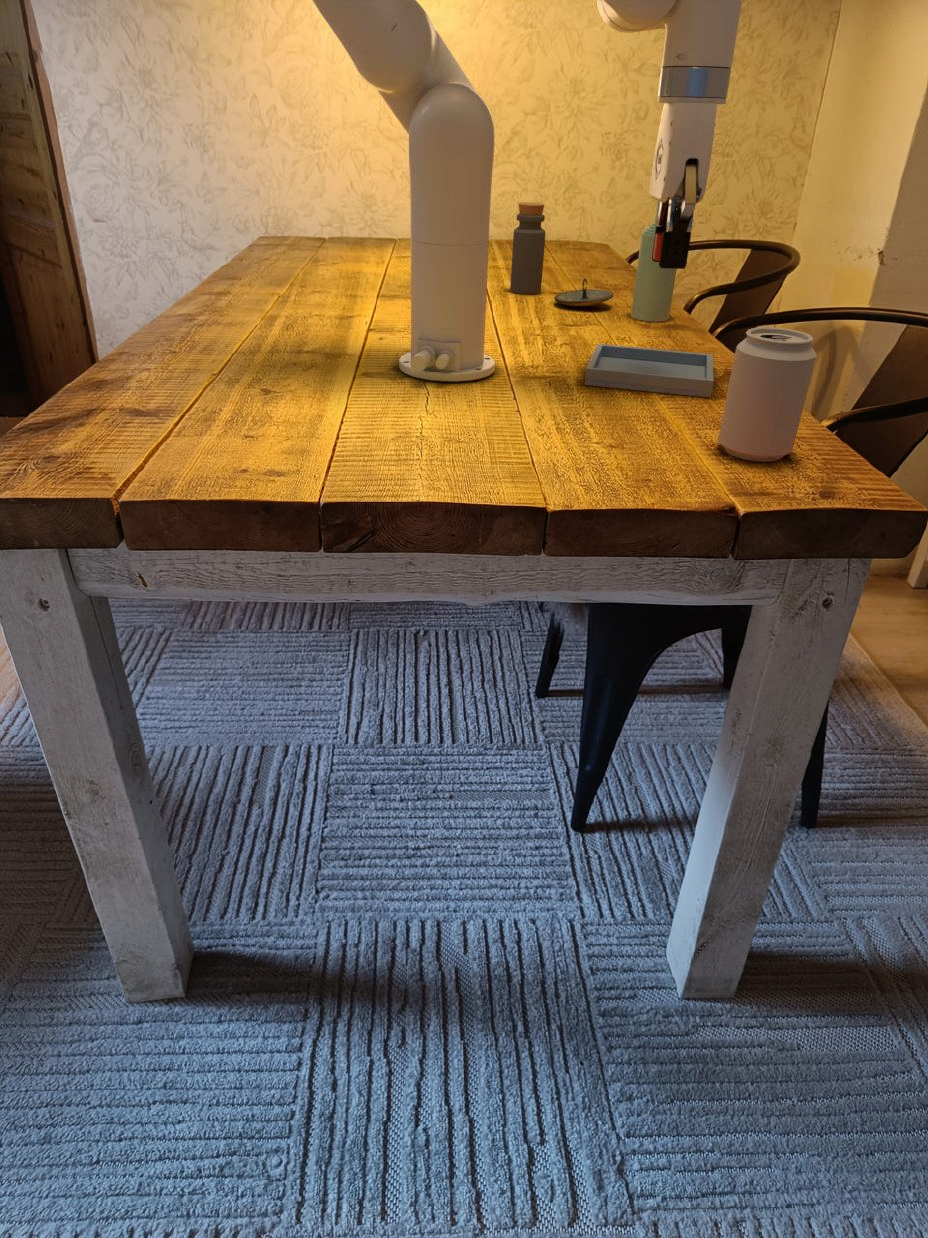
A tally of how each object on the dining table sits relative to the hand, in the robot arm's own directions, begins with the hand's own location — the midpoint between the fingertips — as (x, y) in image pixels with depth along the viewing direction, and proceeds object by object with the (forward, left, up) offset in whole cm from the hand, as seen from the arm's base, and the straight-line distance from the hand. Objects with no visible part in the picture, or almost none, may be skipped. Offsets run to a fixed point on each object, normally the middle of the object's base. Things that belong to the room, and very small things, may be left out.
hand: (668, 263), depth 102 cm
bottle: (+52, +26, -14) cm, 60 cm away
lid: (+43, +14, -14) cm, 47 cm away
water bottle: (+38, +2, -14) cm, 41 cm away
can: (-25, -12, -14) cm, 31 cm away
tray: (0, 0, -14) cm, 14 cm away
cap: (0, 0, 0) cm, 0 cm away
